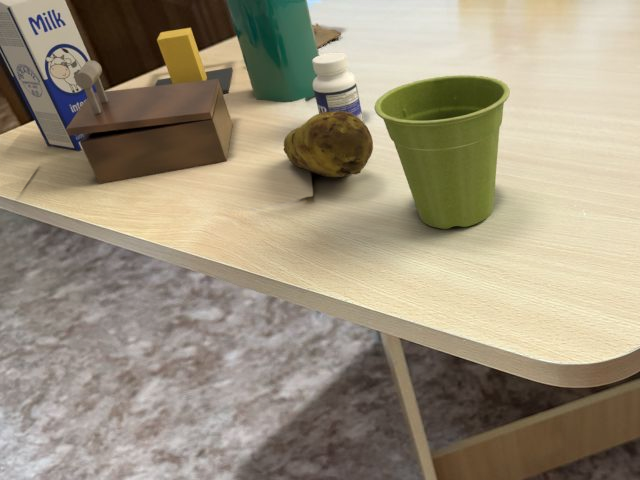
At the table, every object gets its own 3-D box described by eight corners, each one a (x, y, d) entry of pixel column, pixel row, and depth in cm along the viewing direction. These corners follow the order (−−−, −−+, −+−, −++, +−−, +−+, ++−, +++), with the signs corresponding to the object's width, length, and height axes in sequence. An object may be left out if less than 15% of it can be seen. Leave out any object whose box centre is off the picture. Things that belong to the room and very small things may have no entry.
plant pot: (532, 188, 69) (526, 74, 62) (493, 249, 61) (482, 125, 54) (425, 181, 73) (408, 72, 66) (374, 237, 65) (349, 119, 58)
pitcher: (332, 87, 101) (293, -89, 87) (296, 108, 95) (248, -77, 82) (280, 83, 105) (235, -86, 91) (243, 103, 99) (189, -74, 86)
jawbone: (352, 34, 125) (350, 22, 124) (295, 73, 111) (293, 60, 109) (308, 30, 127) (306, 18, 126) (247, 68, 113) (244, 55, 112)
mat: (147, 106, 103) (146, 103, 102) (158, 82, 112) (157, 79, 112) (228, 93, 104) (227, 89, 104) (232, 70, 113) (231, 67, 113)
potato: (355, 149, 82) (340, 81, 77) (389, 190, 72) (375, 115, 67) (286, 167, 80) (267, 98, 75) (312, 212, 70) (292, 136, 65)
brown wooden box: (102, 190, 80) (79, 142, 76) (121, 149, 90) (102, 105, 86) (228, 167, 81) (212, 119, 78) (234, 129, 91) (220, 85, 88)
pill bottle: (321, 127, 88) (304, 55, 83) (361, 119, 89) (346, 47, 84) (327, 142, 84) (309, 67, 79) (368, 133, 85) (354, 58, 80)
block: (175, 91, 106) (156, 39, 101) (178, 82, 109) (160, 32, 105) (204, 86, 106) (187, 34, 101) (207, 77, 110) (190, 27, 105)
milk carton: (92, 131, 97) (20, -29, 84) (124, 135, 94) (54, -29, 81) (48, 151, 92) (-35, -14, 79) (80, 157, 89) (-1, -14, 77)
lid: (68, 135, 76) (47, 85, 72) (92, 99, 85) (75, 53, 82) (212, 118, 78) (198, 69, 74) (219, 85, 88) (208, 40, 84)
